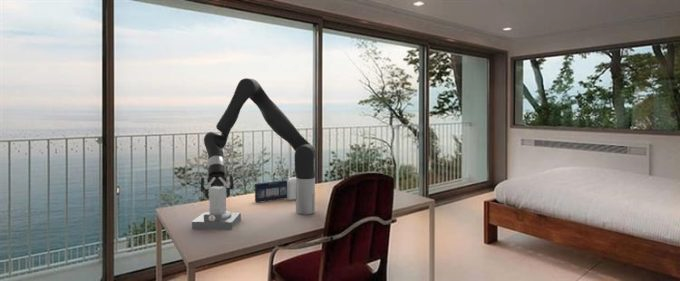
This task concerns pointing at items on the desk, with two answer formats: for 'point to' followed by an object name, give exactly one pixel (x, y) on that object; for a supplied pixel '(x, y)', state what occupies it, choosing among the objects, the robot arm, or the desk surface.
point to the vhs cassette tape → (270, 191)
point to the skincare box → (217, 199)
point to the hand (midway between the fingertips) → (217, 197)
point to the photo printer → (291, 188)
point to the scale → (216, 220)
